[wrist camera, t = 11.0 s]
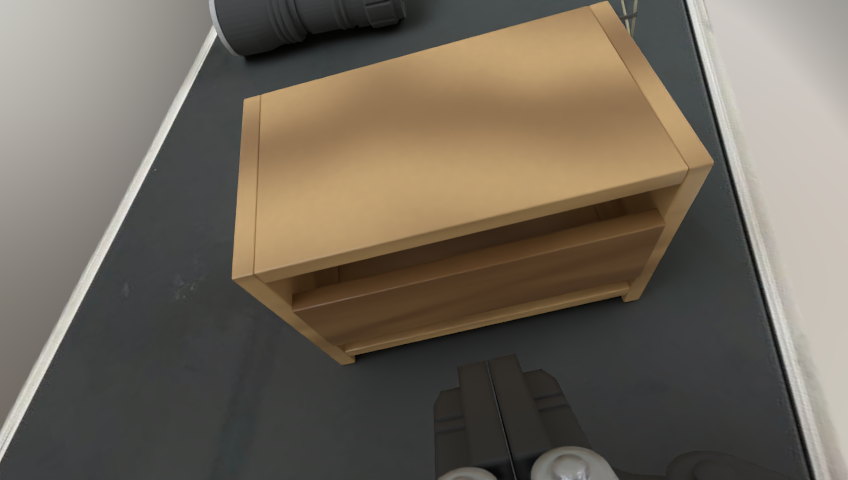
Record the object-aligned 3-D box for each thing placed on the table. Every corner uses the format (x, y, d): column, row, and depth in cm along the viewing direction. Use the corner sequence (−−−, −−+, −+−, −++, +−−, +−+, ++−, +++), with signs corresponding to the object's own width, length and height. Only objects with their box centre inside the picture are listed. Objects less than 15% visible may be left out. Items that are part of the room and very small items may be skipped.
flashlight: (409, -3, 41) (395, -68, 36) (412, 35, 38) (397, -31, 33) (248, 31, 42) (215, -26, 38) (239, 70, 40) (203, 13, 35)
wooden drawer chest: (640, 303, 23) (719, 167, 14) (341, 369, 24) (230, 284, 15) (579, 167, 28) (607, -1, 19) (332, 228, 29) (243, 98, 20)
